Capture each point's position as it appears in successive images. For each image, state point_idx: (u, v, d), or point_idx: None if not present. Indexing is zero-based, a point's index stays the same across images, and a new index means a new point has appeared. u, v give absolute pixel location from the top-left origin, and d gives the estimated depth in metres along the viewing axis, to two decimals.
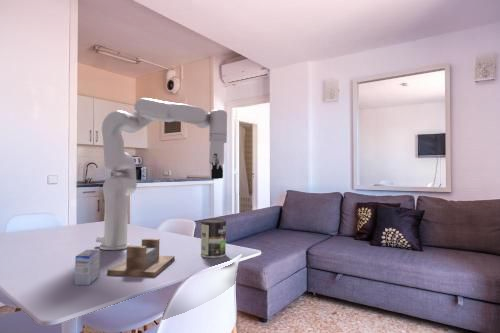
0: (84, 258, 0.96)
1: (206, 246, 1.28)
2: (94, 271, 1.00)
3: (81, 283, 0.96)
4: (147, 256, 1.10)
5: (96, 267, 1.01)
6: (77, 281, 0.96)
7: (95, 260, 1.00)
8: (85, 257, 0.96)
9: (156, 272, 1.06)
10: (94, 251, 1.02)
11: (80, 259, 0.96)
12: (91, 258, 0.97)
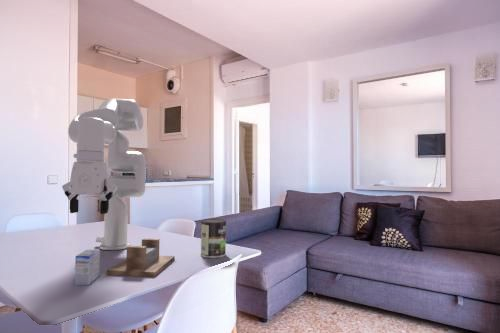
0: (84, 258, 0.96)
1: (206, 246, 1.28)
2: (94, 271, 1.00)
3: (81, 283, 0.96)
4: (147, 256, 1.10)
5: (96, 267, 1.01)
6: (77, 281, 0.96)
7: (95, 260, 1.00)
8: (85, 257, 0.96)
9: (156, 272, 1.06)
10: (94, 251, 1.02)
11: (80, 259, 0.96)
12: (91, 258, 0.97)
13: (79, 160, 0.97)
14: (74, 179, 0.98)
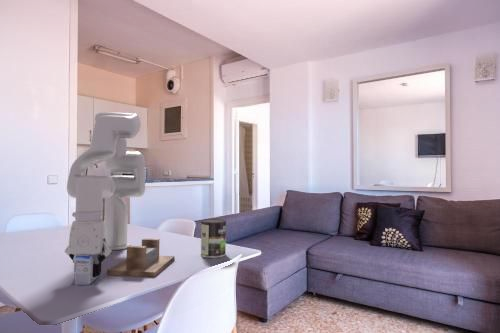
0: (84, 258, 0.96)
1: (206, 246, 1.28)
2: None
3: (81, 283, 0.96)
4: (147, 256, 1.10)
5: None
6: (77, 281, 0.96)
7: None
8: (85, 257, 0.96)
9: (156, 272, 1.06)
10: None
11: (80, 259, 0.96)
12: (91, 258, 0.97)
13: (78, 221, 0.97)
14: (72, 240, 0.98)
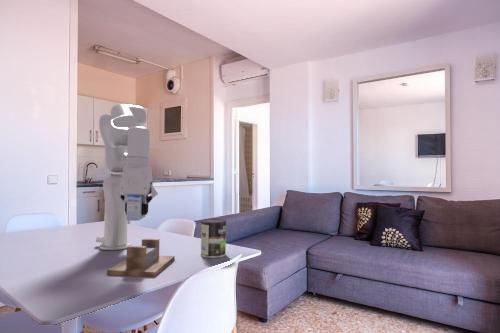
0: (135, 197, 1.09)
1: (206, 246, 1.28)
2: None
3: (132, 219, 1.09)
4: (147, 256, 1.10)
5: None
6: (128, 217, 1.09)
7: None
8: (135, 196, 1.09)
9: (156, 272, 1.06)
10: None
11: (131, 198, 1.09)
12: (140, 197, 1.10)
13: (129, 165, 1.10)
14: (124, 181, 1.11)
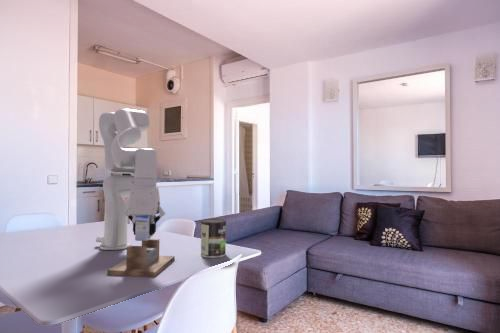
0: (143, 217, 1.11)
1: (206, 246, 1.28)
2: None
3: (140, 239, 1.11)
4: (147, 256, 1.10)
5: None
6: (137, 237, 1.11)
7: (150, 221, 1.15)
8: (144, 217, 1.11)
9: (156, 272, 1.06)
10: None
11: (139, 218, 1.11)
12: (148, 218, 1.12)
13: (137, 186, 1.12)
14: (132, 202, 1.13)
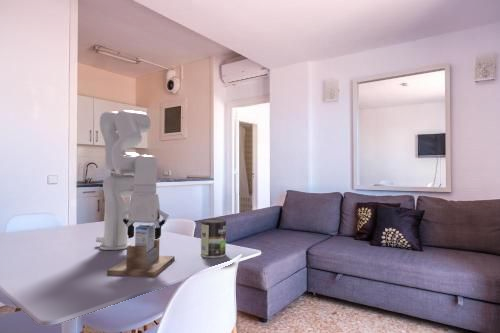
0: (142, 229, 1.11)
1: (206, 246, 1.28)
2: (150, 241, 1.15)
3: None
4: (147, 256, 1.10)
5: (152, 238, 1.16)
6: None
7: (151, 232, 1.15)
8: (143, 228, 1.11)
9: (156, 272, 1.06)
10: (150, 224, 1.17)
11: (139, 230, 1.11)
12: (148, 229, 1.12)
13: (137, 193, 1.12)
14: (132, 209, 1.13)
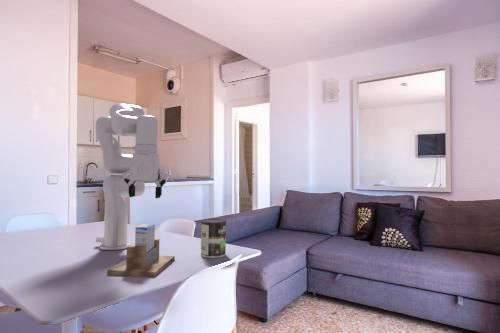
0: (142, 229, 1.11)
1: (206, 246, 1.28)
2: (150, 241, 1.15)
3: None
4: (147, 256, 1.10)
5: (152, 238, 1.16)
6: None
7: (151, 232, 1.15)
8: (143, 228, 1.11)
9: (156, 272, 1.06)
10: (150, 224, 1.17)
11: (139, 230, 1.11)
12: (148, 229, 1.12)
13: (138, 152, 1.14)
14: (133, 168, 1.15)
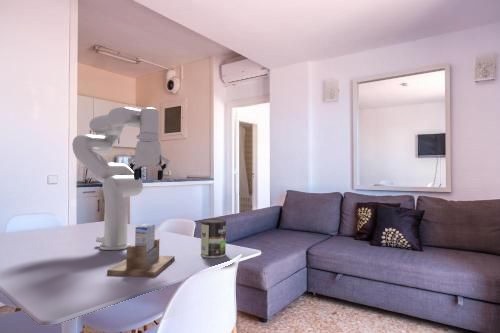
0: (142, 229, 1.11)
1: (206, 246, 1.28)
2: (150, 241, 1.15)
3: None
4: (147, 256, 1.10)
5: (152, 238, 1.16)
6: None
7: (151, 232, 1.15)
8: (143, 228, 1.11)
9: (156, 272, 1.06)
10: (150, 224, 1.17)
11: (139, 230, 1.11)
12: (148, 229, 1.12)
13: (142, 139, 1.30)
14: (138, 154, 1.31)
